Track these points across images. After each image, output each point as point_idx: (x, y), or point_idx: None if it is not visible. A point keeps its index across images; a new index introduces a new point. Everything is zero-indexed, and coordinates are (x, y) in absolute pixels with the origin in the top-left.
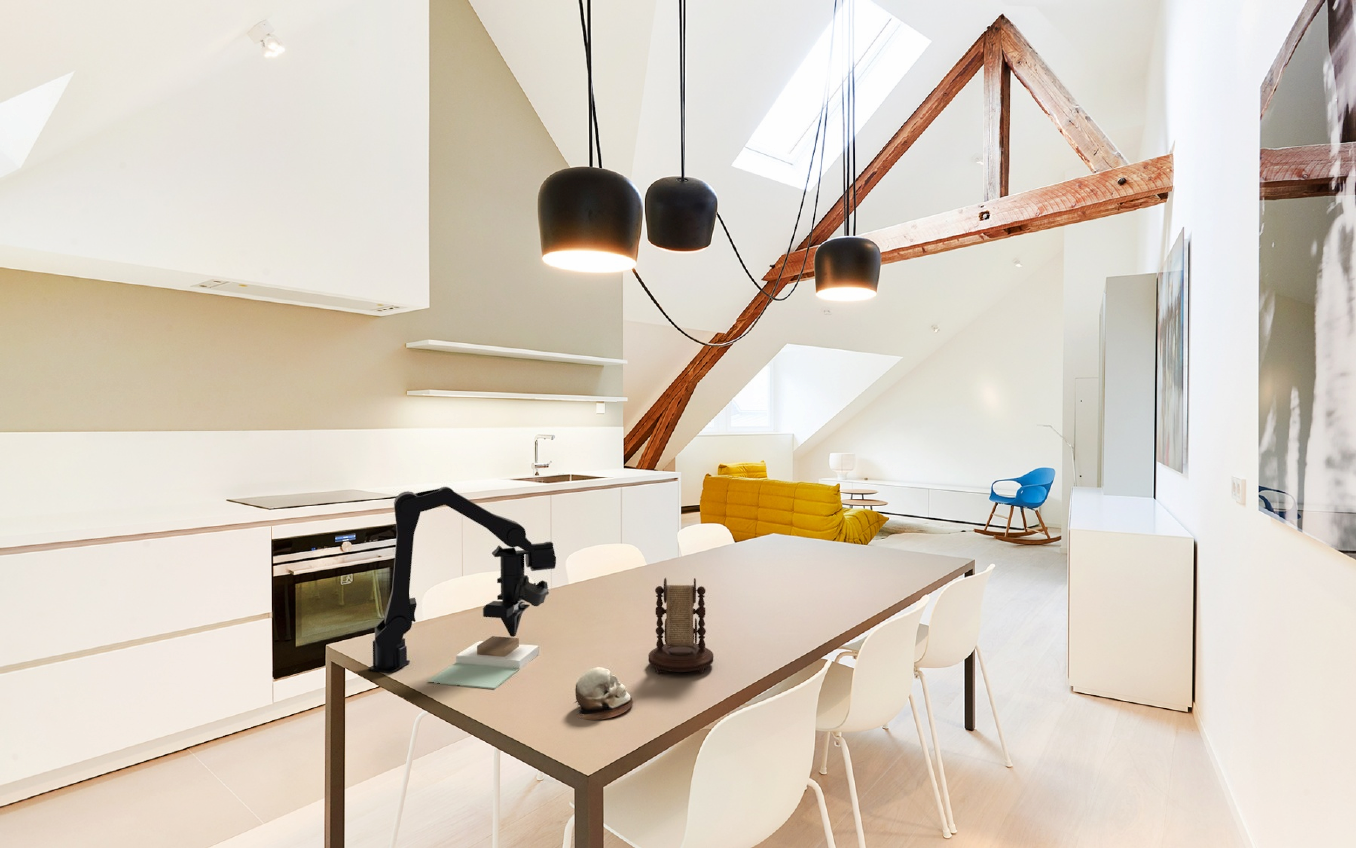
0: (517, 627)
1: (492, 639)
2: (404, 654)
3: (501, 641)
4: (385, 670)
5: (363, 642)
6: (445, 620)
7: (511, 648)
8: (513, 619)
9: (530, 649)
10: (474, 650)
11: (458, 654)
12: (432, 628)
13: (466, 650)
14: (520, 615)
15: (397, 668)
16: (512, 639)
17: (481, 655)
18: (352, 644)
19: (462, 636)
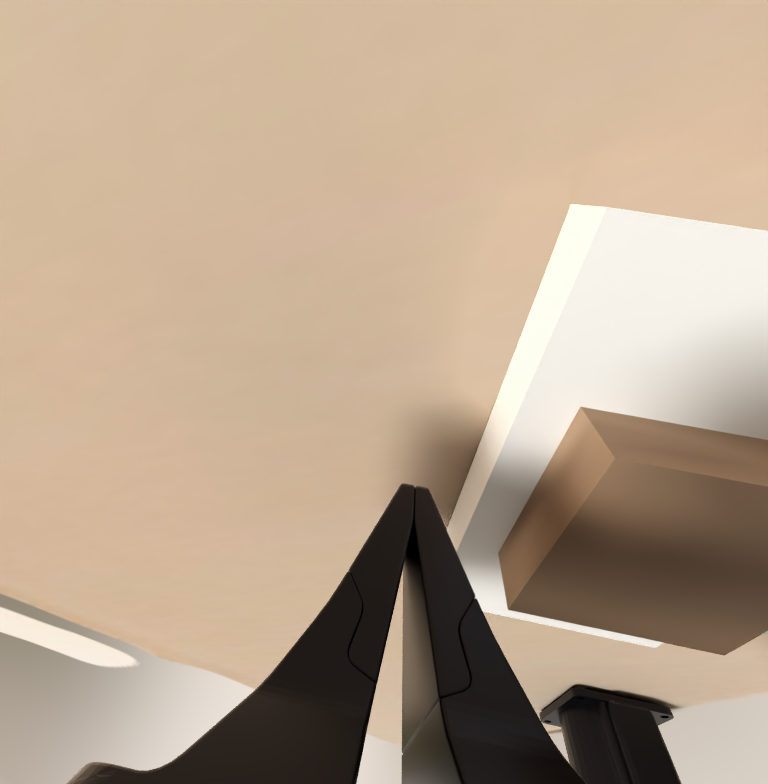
0: (389, 532)
1: (591, 606)
2: (643, 757)
3: (675, 561)
4: (660, 723)
5: (386, 730)
6: (176, 648)
7: (744, 452)
8: (522, 704)
9: (727, 275)
10: None
11: (643, 643)
12: (250, 663)
13: (584, 626)
14: (337, 663)
15: (648, 708)
16: (646, 501)
17: None
18: (401, 738)
19: (293, 611)
